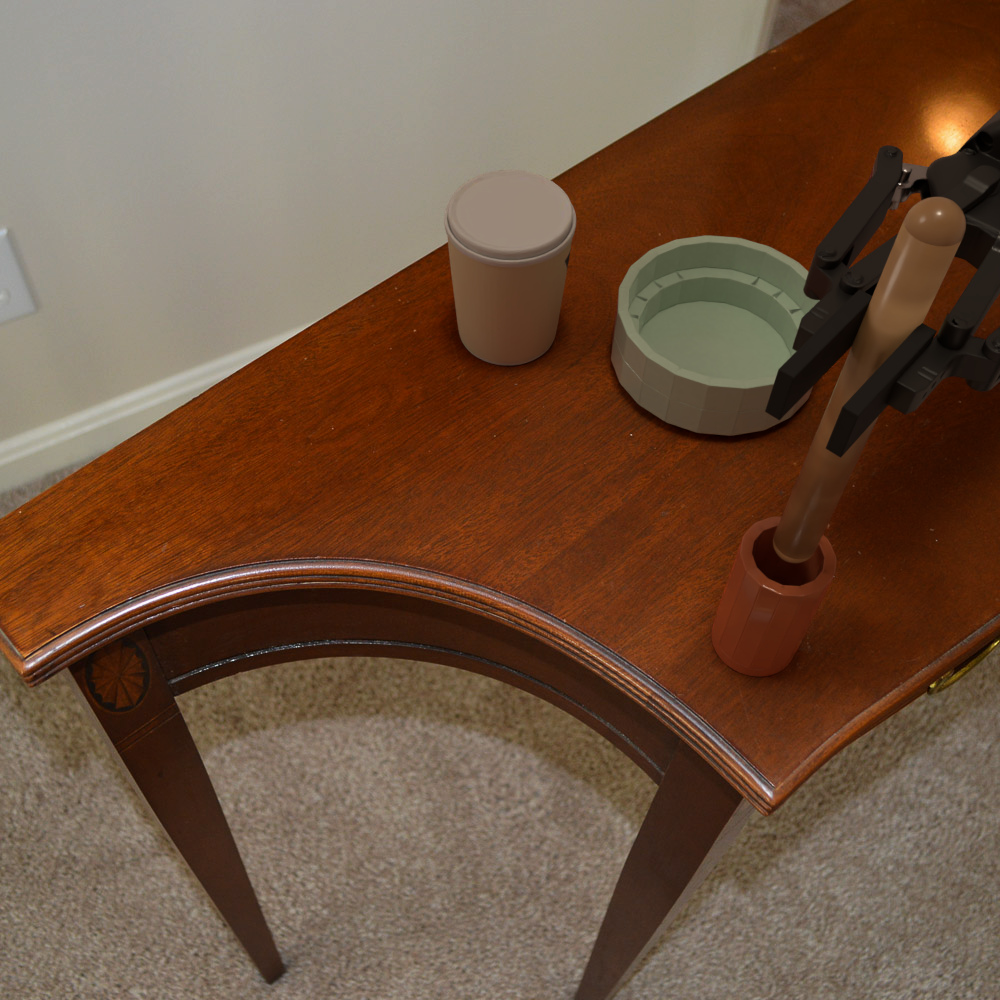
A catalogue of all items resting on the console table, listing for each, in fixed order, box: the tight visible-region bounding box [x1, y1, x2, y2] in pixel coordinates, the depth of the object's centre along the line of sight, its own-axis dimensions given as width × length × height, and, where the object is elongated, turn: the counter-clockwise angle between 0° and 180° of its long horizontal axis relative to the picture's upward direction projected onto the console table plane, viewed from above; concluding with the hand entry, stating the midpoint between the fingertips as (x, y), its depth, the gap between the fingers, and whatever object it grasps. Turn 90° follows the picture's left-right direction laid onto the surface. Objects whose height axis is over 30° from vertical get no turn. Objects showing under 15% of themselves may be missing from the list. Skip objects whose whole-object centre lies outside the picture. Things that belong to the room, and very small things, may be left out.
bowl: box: [610, 234, 820, 437], centre depth 82 cm, size 16×16×6 cm
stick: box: [773, 197, 966, 563], centre depth 53 cm, size 2×2×24 cm
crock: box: [710, 516, 837, 678], centre depth 66 cm, size 5×6×10 cm
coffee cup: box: [443, 169, 577, 367], centre depth 81 cm, size 9×9×12 cm
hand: (810, 413), depth 46 cm, fingers closed on stick, 2 cm apart
